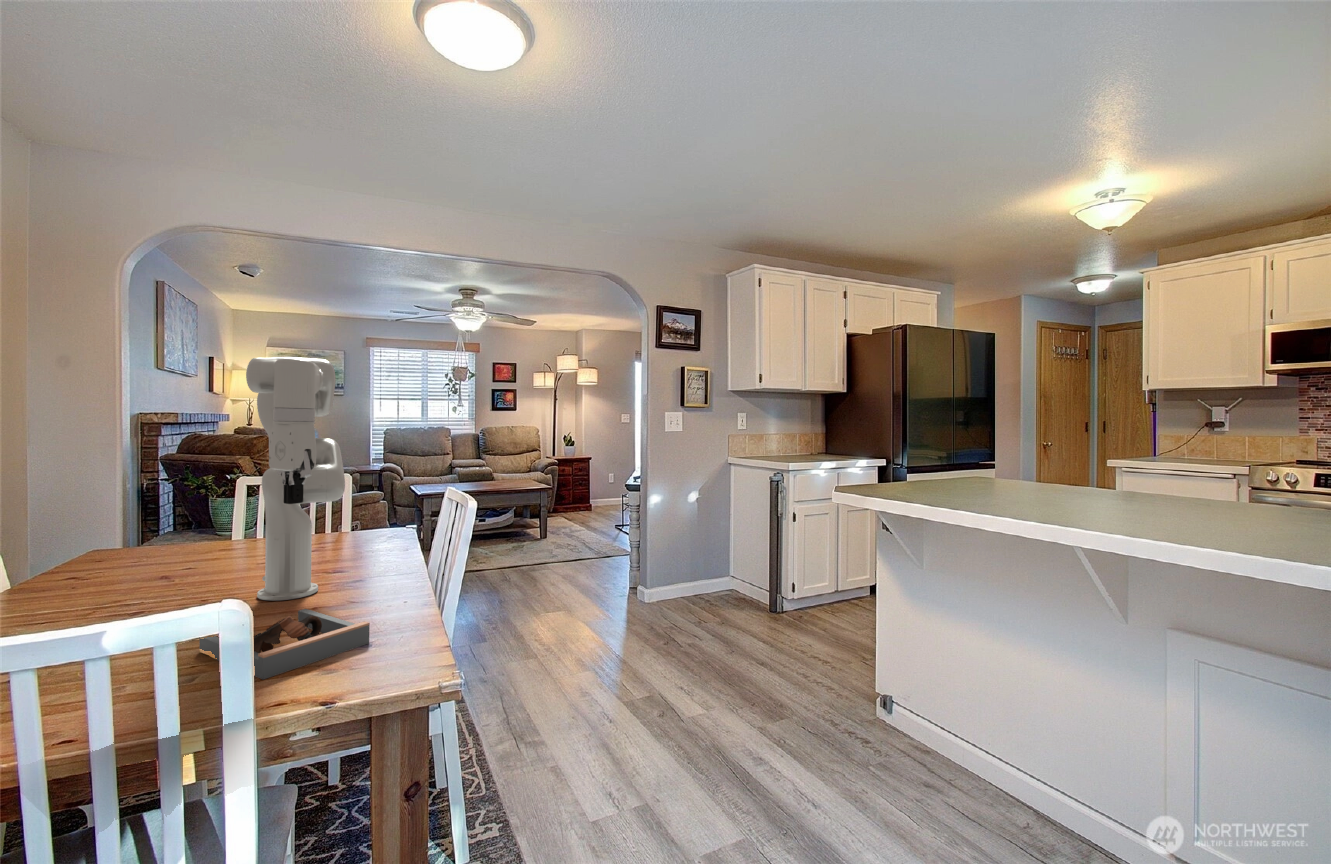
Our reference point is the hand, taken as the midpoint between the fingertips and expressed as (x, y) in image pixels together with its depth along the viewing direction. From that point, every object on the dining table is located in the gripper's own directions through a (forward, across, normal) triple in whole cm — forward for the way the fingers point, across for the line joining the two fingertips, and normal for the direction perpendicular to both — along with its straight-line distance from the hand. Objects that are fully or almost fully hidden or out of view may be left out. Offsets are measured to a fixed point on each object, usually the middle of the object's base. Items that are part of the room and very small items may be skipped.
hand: (293, 503), depth 126 cm
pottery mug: (+25, +19, -11) cm, 33 cm away
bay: (+25, +14, -9) cm, 30 cm away
